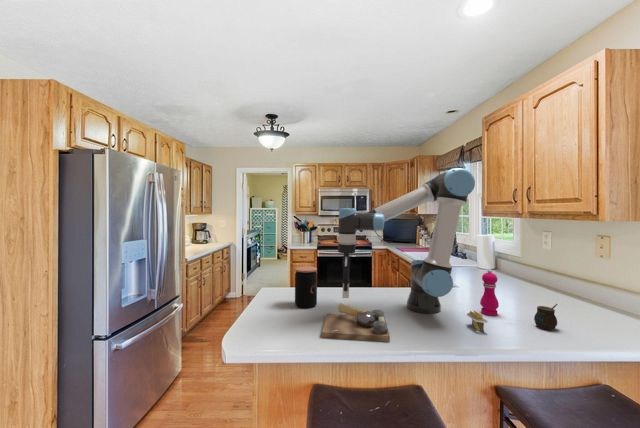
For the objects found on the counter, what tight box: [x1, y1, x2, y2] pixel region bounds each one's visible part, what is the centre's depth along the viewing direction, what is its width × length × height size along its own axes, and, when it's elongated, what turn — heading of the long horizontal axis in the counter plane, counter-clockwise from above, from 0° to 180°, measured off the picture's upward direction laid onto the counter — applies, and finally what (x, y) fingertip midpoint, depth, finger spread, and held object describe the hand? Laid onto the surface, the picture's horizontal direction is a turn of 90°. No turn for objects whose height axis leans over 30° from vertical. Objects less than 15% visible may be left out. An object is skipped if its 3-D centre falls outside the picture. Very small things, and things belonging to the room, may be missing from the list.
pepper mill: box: [480, 268, 499, 317], centre depth 129 cm, size 7×7×20 cm
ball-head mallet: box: [337, 303, 375, 327], centre depth 114 cm, size 16×7×5 cm, turn 48°
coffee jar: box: [294, 265, 318, 310], centre depth 139 cm, size 11×11×18 cm
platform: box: [466, 310, 488, 333], centre depth 113 cm, size 12×18×7 cm, turn 0°
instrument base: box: [321, 309, 391, 343], centre depth 111 cm, size 24×19×5 cm
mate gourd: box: [533, 303, 558, 331], centre depth 114 cm, size 7×8×10 cm
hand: (345, 297), depth 125 cm, fingers closed
